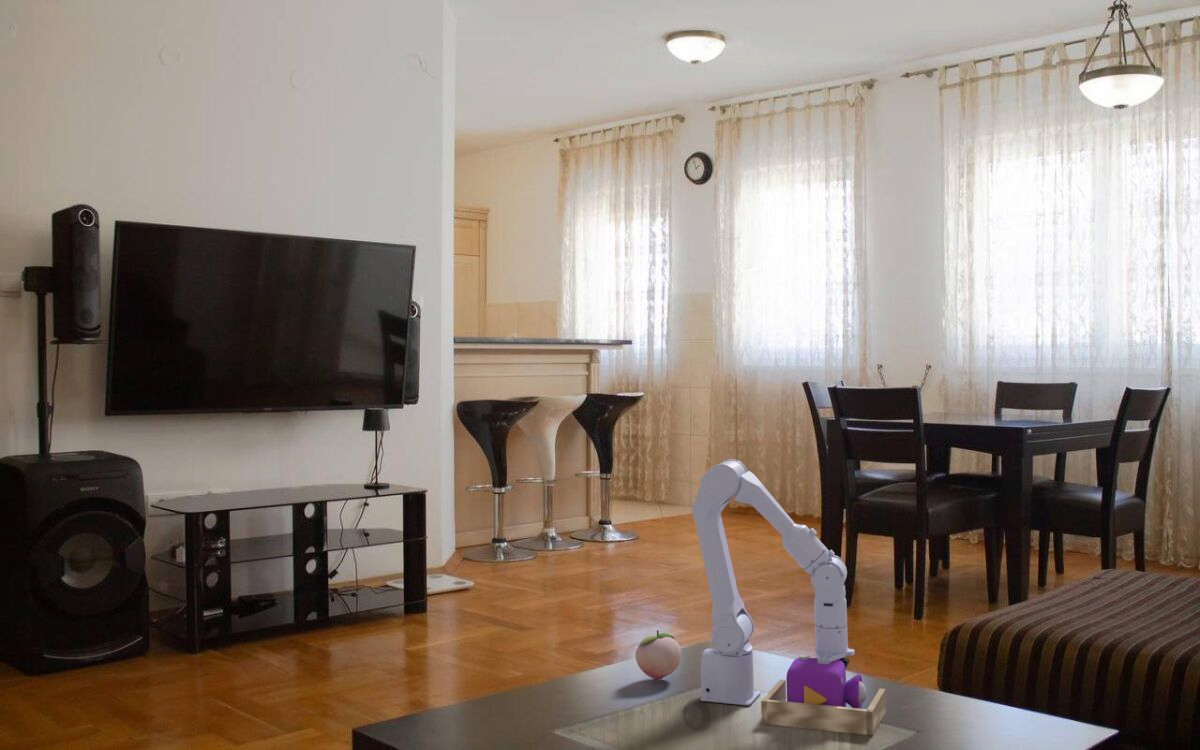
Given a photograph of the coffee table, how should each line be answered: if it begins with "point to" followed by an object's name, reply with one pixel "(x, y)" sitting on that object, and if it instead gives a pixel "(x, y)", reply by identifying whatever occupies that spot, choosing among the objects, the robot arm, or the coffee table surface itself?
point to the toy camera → (823, 684)
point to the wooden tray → (821, 713)
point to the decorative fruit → (658, 655)
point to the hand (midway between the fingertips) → (833, 699)
